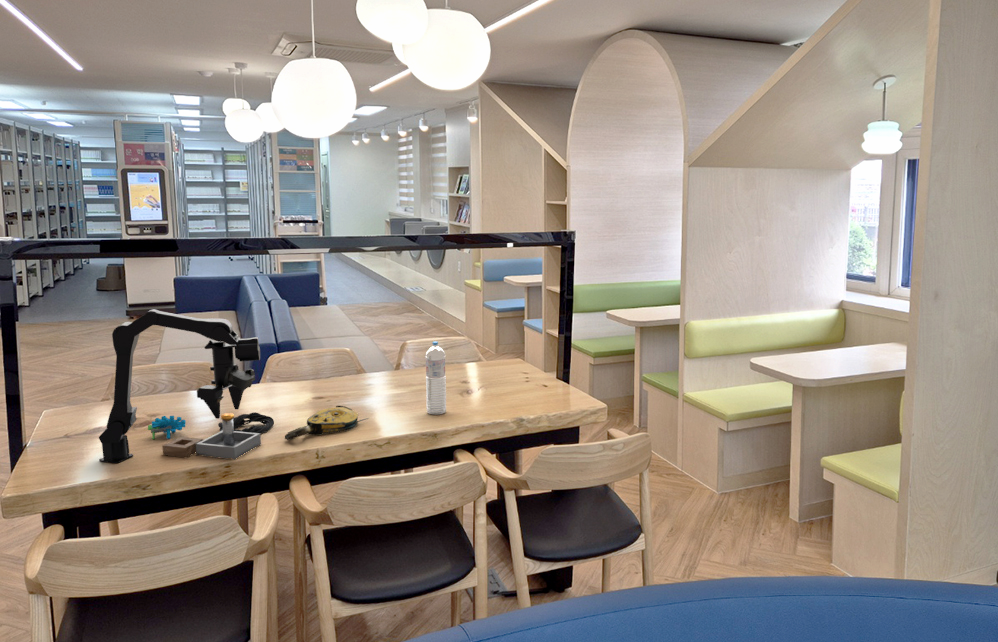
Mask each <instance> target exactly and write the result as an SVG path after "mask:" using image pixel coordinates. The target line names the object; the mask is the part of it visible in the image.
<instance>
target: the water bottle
mask: <svg viewBox="0 0 998 642" xmlns="http://www.w3.org/2000/svg"><path fill="white" fill-rule="evenodd" d="M424 356H425V393H426V394H425V395H426V400H425V401H426V403H425V404H426V412H427V414H428V415H433V416H438V415H439V416H440V415H443V414H445V413H446V412H447V387H446V386H447V383H446V382H447V379H446V377H447V376H446V353H445V351H444V350H443V349H442V348H441V347H440V346H439V341H432V346H431V347H429V349H427V351H426V352H425V355H424Z"/></svg>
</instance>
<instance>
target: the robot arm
mask: <svg viewBox="0 0 998 642" xmlns="http://www.w3.org/2000/svg"><path fill="white" fill-rule="evenodd" d="M152 326H158V327H164V328H167V329H168V328H169V329H175V330H181V331H184V332H192V333H195V334H199V335H200V336H202V337H205V338H206V339H209V340H208V342H207V344H206V345H205V346H204V349H205V350H211V353H212V365H213V366H210V368H209V369H210V371H213V376H214V377H213V378H214V379H212V380H211V381H210V382H211V385H209V384H206V385H203V386H201V387H199V388H197V390H196V397H197V399H200V400H202V401H203V402H204V403H205V404H206V406H207V407H208V408H209V410H210V411H211V413H212V414H213V416H214V418H215V419H221V401H222V400H223V398H224V396H222V395H223V393H224V390H226V389H228V392H229V395H230V399H231V402H232V406H233V408H234V410H239V408H240V405H241V401H242V397H243V394H244V391H246V389H248V388H251V387H252V384H253V382H254V381H256V373H255V370H254V369H252V368H248V369H246V370H239V366H238V363H236V364H235V360H234V359H236V360H239V362H252V361H260V360H261V348H260V342H259V338H258V336H257V337H256V336H255V337H248V338H241V337H240V336H239V335H238V334H237V332H235V330H234V329H233V325H232V323H231V321H230V320H228V319H225V318H215V317H213V318H212V317H211V318H210V317H209V318H198V317H194V316H187V315H183V314H178V313H171V312H167V311H162V310H158V309H154V308H153V309H150V310H149V311H147V312H146V313H145V314H143V315H141V316H140V317H138V318H135V320H133V321H125V322H122V323H121V324H120V325H118V326H116V327H115V328H114V329H113V331H112V334H111V337H112V338H111V339H112V344H113V349H114V351H115V355H116V359H115V360H116V361H115V373H114V374H115V376H114V377H115V378H114V393H113V404H112V407H111V411H110V412H109V416H108V418H107V423H106V428H104V429H105V430H103V432H101V434H100V435H99V436H98V440H99V442H101V449H102V457H101V458H100V459H99V460H98V462H102V463H111V464H118V463H122V462H124V461H126V460H127V459H130V458H132V457H134V454H133V453H130V445H129V439H128V435H127V433H128V432H129V431H130V429H131V428H132V426H133V425H134V423H135V422H136V421H137V416H136V413H137V410H138V406H132V402H131V392H132V391H131V390H132V377H133V376H132V374H133V363H134V362H133V359H134V353H135V350H136V347H137V344H138V341H139V338H140V334H142V333H143V332H145V331H146V330H147V329H149V328H150V327H152ZM234 356H235V358H234Z"/></svg>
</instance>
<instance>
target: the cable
mask: <svg viewBox="0 0 998 642" xmlns="http://www.w3.org/2000/svg"><path fill="white" fill-rule="evenodd" d="M250 423H260V424H263V425H251V426H249V427H244V428H243V429H239V428H241V427H243V426H246V425H249V424H250ZM274 424H275V421H274V418H272V417H271V416H269V415H264V414H261V413H259V412H250V413H243V414H240V415H237V416H234V418H233V427H234V431H239V432H250V433H260V435H262V434H263V433H266V432H268V431H269V430H271V428H273V426H274ZM217 426H218V427H219V432H220V431H222V430H223V424H222V422H221V421H220V422H219V423H218V425H217Z"/></svg>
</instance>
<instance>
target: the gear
mask: <svg viewBox="0 0 998 642" xmlns="http://www.w3.org/2000/svg"><path fill="white" fill-rule="evenodd" d="M186 421H187V420H185V419H182V417H181V416H177V417H176V419H175V415H169V418H168V417H167V416H166V415H163V416H161V418H158V417H156V418H155V419H154V420H153V421H151V424H148V425H147V430H148V431H150V433H151V434H152V436H151V437H152V438H151V439H152V440H155V437H156V434H158V433H164V434H165V433H166V439H167V440H170V439H171V433H177V432H176V431H177V430H178V431H182V430H183V428H186V424H187V423H186Z"/></svg>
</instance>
